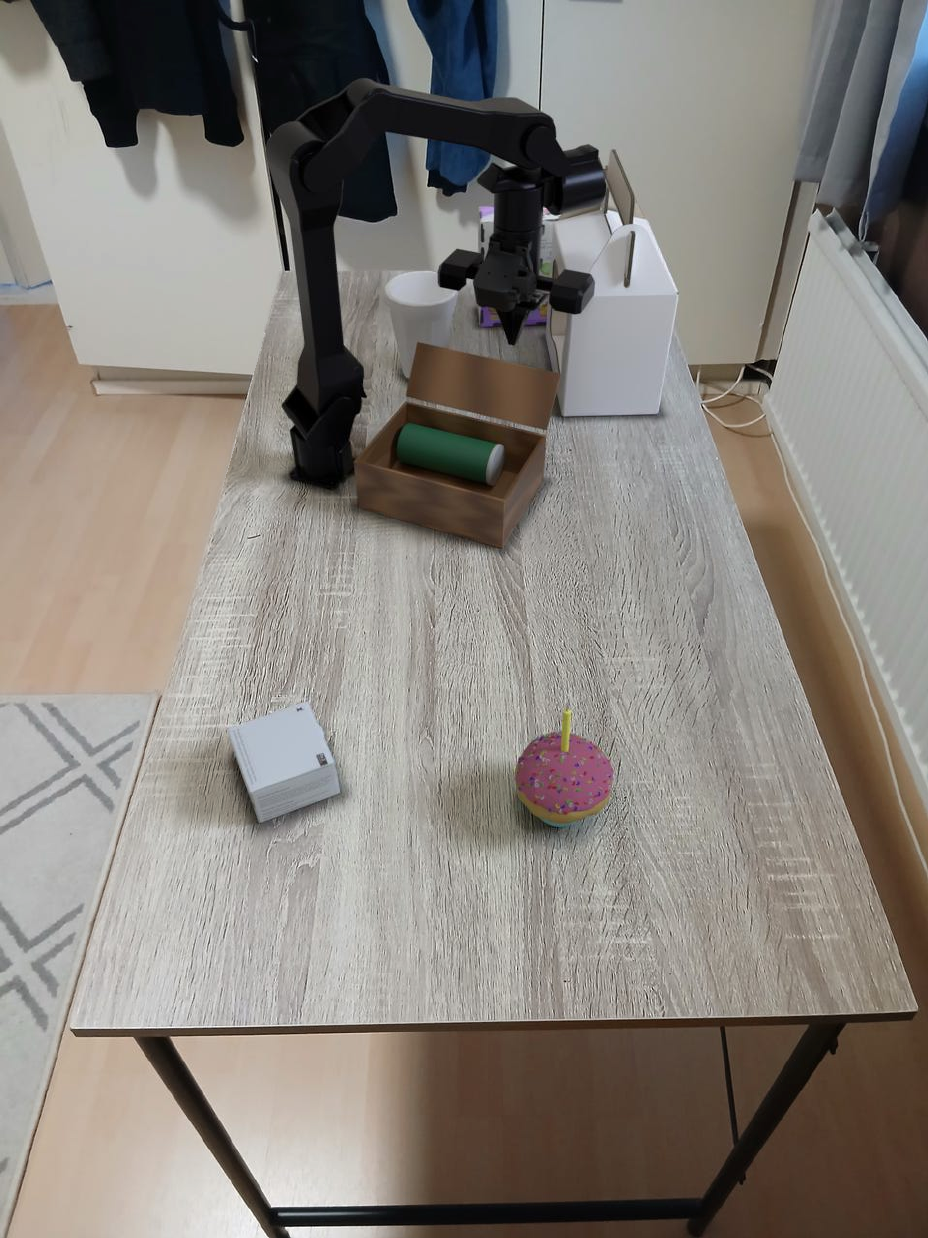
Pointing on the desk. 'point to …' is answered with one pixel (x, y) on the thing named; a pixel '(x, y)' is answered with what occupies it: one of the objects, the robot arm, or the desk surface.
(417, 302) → the cup
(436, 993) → the desk surface
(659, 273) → the gable box
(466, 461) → the crisps tube
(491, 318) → the candy box
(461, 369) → the flap
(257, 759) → the small box
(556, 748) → the cupcake
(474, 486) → the snack box
